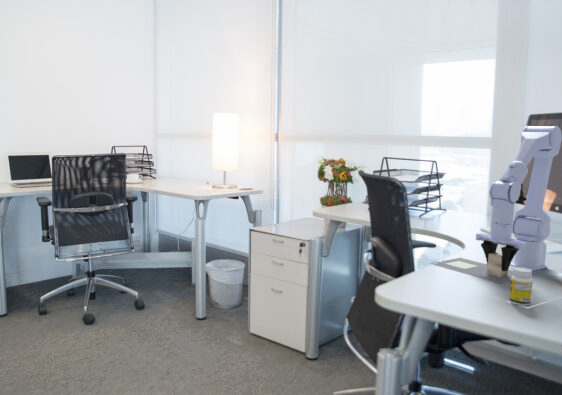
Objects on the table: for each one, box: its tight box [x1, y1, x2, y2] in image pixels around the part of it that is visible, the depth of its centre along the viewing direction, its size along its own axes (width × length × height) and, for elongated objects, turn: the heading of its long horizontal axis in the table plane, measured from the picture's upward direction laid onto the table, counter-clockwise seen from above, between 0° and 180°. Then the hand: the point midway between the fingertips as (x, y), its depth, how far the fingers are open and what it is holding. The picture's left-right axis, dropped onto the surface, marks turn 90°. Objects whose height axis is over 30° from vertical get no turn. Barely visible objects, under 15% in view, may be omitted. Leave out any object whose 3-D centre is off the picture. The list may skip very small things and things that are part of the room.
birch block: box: [487, 251, 508, 277], centre depth 143 cm, size 4×4×6 cm
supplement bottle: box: [509, 267, 534, 307], centre depth 119 cm, size 5×5×8 cm
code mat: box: [429, 257, 514, 285], centre depth 149 cm, size 16×24×1 cm, turn 35°
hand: (497, 268), depth 143 cm, fingers closed on birch block, 4 cm apart
